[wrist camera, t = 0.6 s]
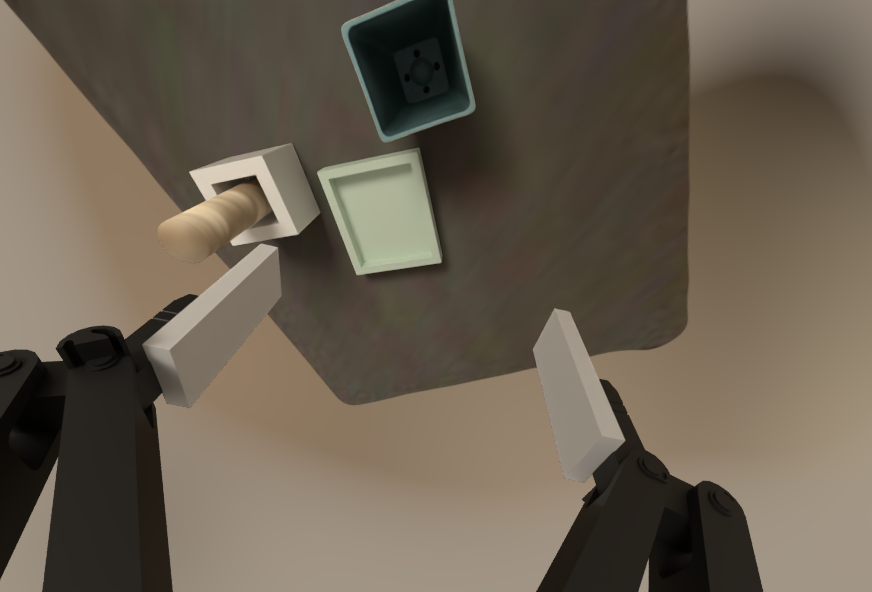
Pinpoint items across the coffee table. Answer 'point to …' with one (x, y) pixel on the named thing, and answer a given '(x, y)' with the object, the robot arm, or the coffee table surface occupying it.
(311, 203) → the hollow block
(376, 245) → the tray
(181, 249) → the dowel
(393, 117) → the flower pot
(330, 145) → the coffee table surface
